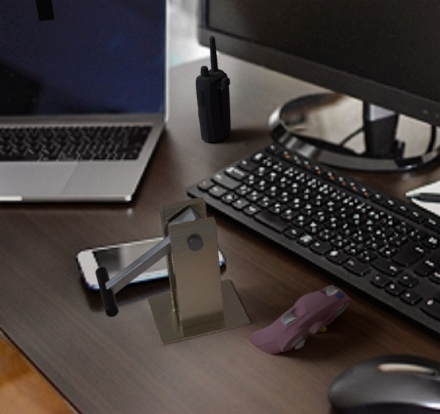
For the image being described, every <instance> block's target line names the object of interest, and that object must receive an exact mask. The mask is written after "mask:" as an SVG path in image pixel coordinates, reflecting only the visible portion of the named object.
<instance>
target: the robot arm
mask: <svg viewBox="0 0 440 414" xmlns="http://www.w3.org/2000/svg"><path fill="white" fill-rule="evenodd" d="M33 1H34V6H35V11H36V15H37V19H38V22H45V21H54V20H56V18H55V11H54V7H53V1H52V0H33Z"/></svg>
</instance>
